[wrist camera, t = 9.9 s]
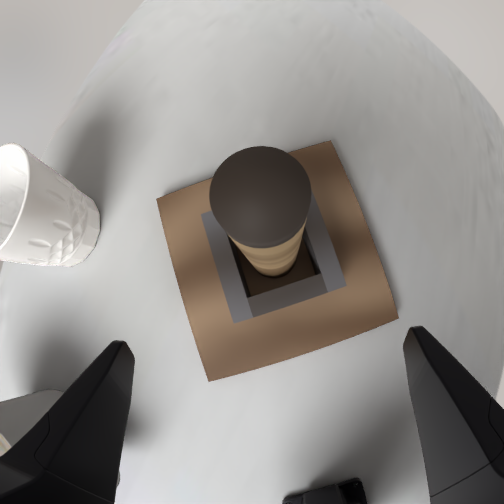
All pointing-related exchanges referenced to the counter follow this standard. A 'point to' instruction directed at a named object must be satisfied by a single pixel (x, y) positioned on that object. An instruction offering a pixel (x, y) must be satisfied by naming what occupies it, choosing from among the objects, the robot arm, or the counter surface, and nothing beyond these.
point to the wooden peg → (262, 206)
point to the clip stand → (280, 289)
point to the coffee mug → (24, 416)
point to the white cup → (42, 213)
